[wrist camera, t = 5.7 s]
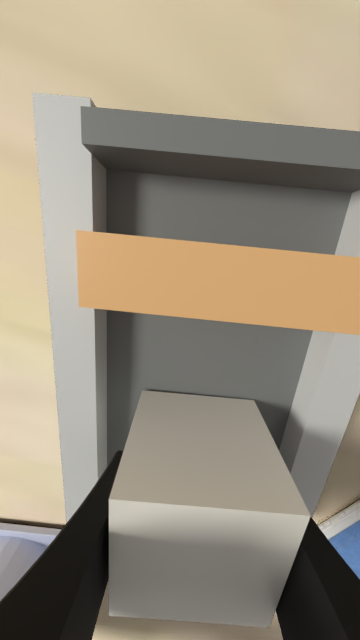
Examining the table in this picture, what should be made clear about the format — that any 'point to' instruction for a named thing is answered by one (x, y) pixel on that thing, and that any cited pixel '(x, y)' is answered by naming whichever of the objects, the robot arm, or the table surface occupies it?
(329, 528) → the tablet computer
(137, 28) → the table surface
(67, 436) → the rail mount
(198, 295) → the block
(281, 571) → the block
